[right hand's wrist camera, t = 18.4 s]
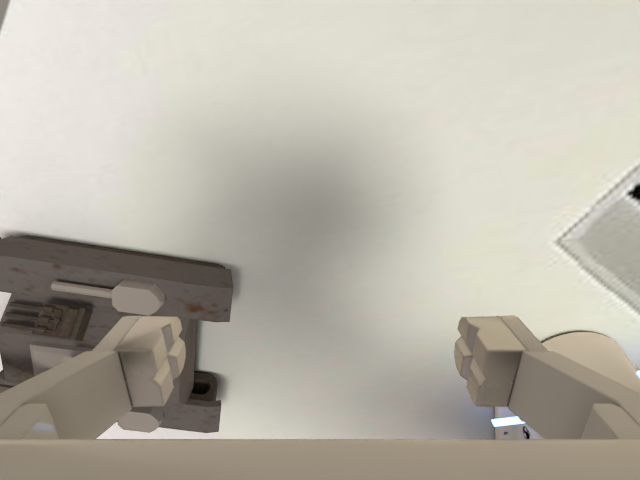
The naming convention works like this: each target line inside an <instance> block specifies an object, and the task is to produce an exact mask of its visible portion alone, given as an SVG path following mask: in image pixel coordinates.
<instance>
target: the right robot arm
mask: <svg viewBox="0 0 640 480" xmlns="http://www.w3.org/2000/svg"><path fill="white" fill-rule="evenodd" d="M181 331H182V326H181V321H180V319H179V318H178V317H171V316H125V317H122V318H121V319H120V320H119V321H118V322H117V324H116V325H115V326H114V327H113V328H112V329H111V330H110V331H109V332H108V334H107V335H106V336H105V337H104V338H103V339H102V340H101V341H100V342H99V344H98V345H97V346H96V347H95V348H94V349H93V350H92V351H85V352H83V353H81V354H79V355H77V356H75V357H73V358H71V359H69V360H67V361H65V362H63V363H61V364H59V365H57V366H55V367H53V368H51V369H49V370H47V371H45V372H43V373H41V374H39V375H36V376H34V377H32V378H30V379H28V380H26V381H24V382H22V383H20V384H18V385H16V386H14V387H12V388H10V389H8V390H6V391H4V392H2V393H0V480H640V371H639V370H638V369H637V368H636V367H634V365H633V364H632V363H631V361H630V360H629V359H628V357H627V356H626V355H625V353H624V352H623V350H622V348H621V347H620V346H619V345H618V344H617V343H616V342H615V341H614V340H612V339H611V338H609V337H607V336H604V335H601V334H598V333H592V332H573V333H568V334H563V335H560V336H556V337H554V338H551V339H549V340H547V341H545V342H543V343H541V342H540V341H539V340H538V339H537V338H536V337H535V336H534V335H533V334H532V332H531V331H530V330H529V329H528V328H527V327H526V326H525V325H524V323H523V322H522V321H521V320H520V319H519V318H518V317H516V316H496V317H461V319H460V321H459V325H458V331H459V332H460V334H461V337H460V338H459V339H458V340H457V341H456V342H455V350H454V355H455V363H456V367H457V369H458V372H459V374H460V375H461V376H462V377H463V378H465V379H466V380H467V386H466V388H467V390H468V392H469V394H470V396H471V398H472V400H473V402H474V404H475V405H476V406H487V407H495V419H492V423H493V425H494V427H495V439H96V438H97V437H99V436H100V435H101V434H102V433H103V432H105V431H106V430H107V429H108V428H109V427H111V426H112V425H113V424H114V423H115V422H117V421H118V420H119V419H120V418H122V417H123V416H124V415H125V414H126V413H128V412H129V411H130V410H131V409H132V407H152V406H165V404H166V402H167V400H168V398H169V396H170V394H171V392H172V390H173V388H174V386H173V380H174V379H175V378H177V377H178V376H179V375H180V374H181V372H182V369H183V367H184V362H185V358H186V349H185V342H184V341H183V340H182V339H181V338H180V337H179V334H180V332H181Z"/></svg>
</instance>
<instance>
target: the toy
mask: <svg viewBox="0 0 640 480" xmlns="http://www.w3.org/2000/svg"><path fill="white" fill-rule="evenodd" d="M0 291H1V292H8V293H12V294H11V297H10V299H9V302H8V304H7V306H6V309H5V311H4V314H3V316H2V319H1V321H0V354H1V360H2V365H3V370H2V371H1V372H0V393H2V392H4V391H6V390H8V389H10V388H12V387H14V386H16V385H18V384H20V383H22V382H24V381H26V380H28V379H30V378H32V377H34V376H36V375H39V374H41V373H43V372H45V371H47V370H49V369H51V368H53V367H55V366H57V365H59V364H61V363H63V362H65V361H67V360H69V359H71V358H73V357H75V356H77V355H79V354H81V353H83V352H85V351H92V350H93V349H94V348H95V347H96V346H97V345H98V344H99V342H100V341H101V340H102V339H103V338H104V337H105V336H106V335H107V334H108V332H109V331H110V330H111V329H112V328H113V327H114V326H115V325H116V324H117V322H118V321H119V320H120V319H121V318H122V317H125V316H171V317H178V318H179V319H180V321H181V326H182V331H181V332H180V334H179V337H180V338H181V339H182V340H183V341H184V342H185V349H186V358H185V362H184V367H183V369H182V372H181V374H180V375H179V376H178V377H177V378H175V379H174V380H173V386H174V388H173V390H172V392H171V394H170V396H169V398H168V400H167V402H166V404H165V406H152V407H132V409H131V410H130V411H129V412H128V413H126V414H125V415H124V416H123V417H122V418H120V419H119V420H118V421H117V422H118V425H119V426H120V427H121V428H122V429H124V430H132V431H141V432H149V433H150V432H152V431H154V430H156V429H157V428H158V427H162V428H170V429H178V430H186V431H195V432H203V433H211V432H218V431H219V421H220V412H221V400H219V401H216V393H217V380H216V378H215V377H214V376H213V375H210V374H203V373H195V372H194V365H195V347H196V328H197V320H205V321H212V322H230V312H231V302H232V292H233V284H232V277H231V270H229V269H226V268H225V267H223V266H222V265H218V264H212V263H205V262H199V261H192V260H185V259H179V258H172V257H165V256H159V255H152V254H145V253H139V252H132V251H125V250H119V249H112V248H105V247H99V246H92V245H85V244H79V243H72V242H65V241H59V240H52V239H45V238H39V237H32V236H21V237H7V238H3V239H1V237H0Z"/></svg>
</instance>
